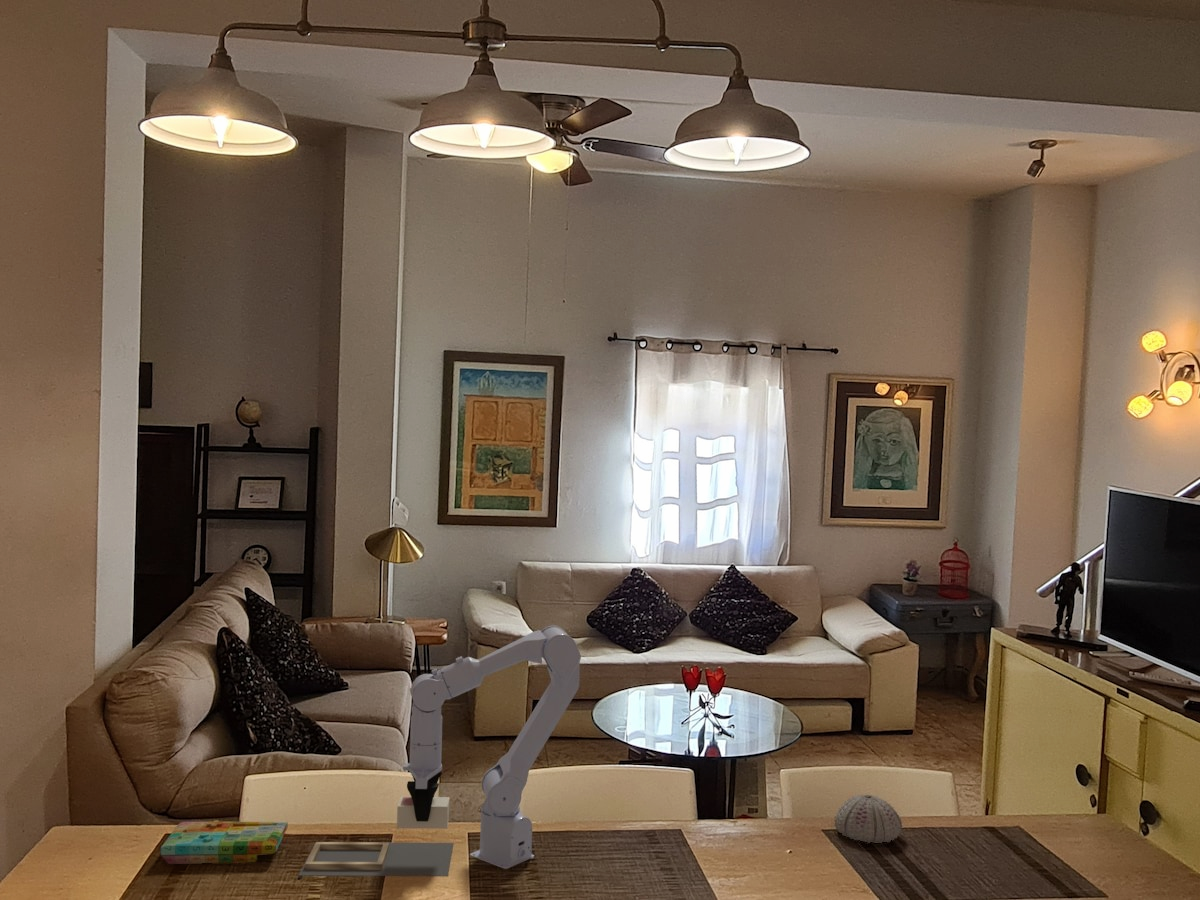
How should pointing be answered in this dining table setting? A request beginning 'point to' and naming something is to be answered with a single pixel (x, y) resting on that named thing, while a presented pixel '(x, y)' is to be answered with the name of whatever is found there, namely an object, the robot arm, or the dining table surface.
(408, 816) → the card box
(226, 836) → the puzzle game
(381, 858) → the frame
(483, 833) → the robot arm
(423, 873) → the mat
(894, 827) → the sea urchin shell
